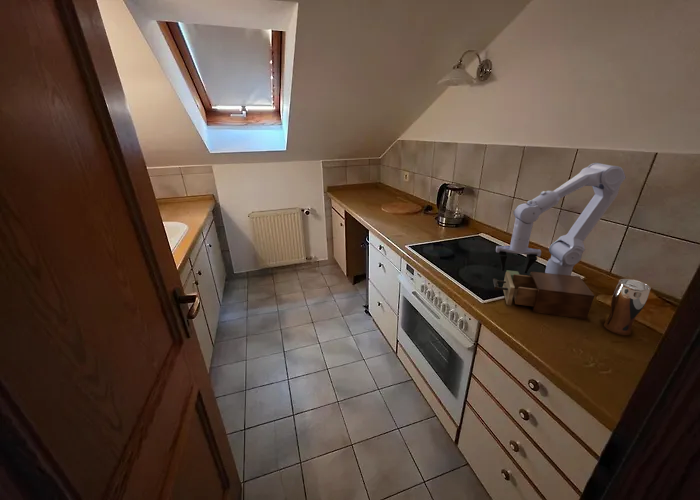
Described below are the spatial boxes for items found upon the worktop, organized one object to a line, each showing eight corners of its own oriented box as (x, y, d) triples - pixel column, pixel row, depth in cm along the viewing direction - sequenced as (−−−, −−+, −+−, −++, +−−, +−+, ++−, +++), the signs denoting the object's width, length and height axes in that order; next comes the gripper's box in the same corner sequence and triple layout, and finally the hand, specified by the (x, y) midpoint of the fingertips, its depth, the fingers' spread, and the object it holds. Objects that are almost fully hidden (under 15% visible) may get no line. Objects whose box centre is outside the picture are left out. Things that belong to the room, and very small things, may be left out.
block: (504, 279, 117) (506, 270, 115) (516, 280, 116) (518, 271, 114) (506, 284, 113) (508, 274, 112) (518, 285, 112) (520, 276, 111)
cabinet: (533, 311, 97) (539, 289, 93) (525, 292, 108) (530, 271, 104) (586, 319, 92) (594, 295, 89) (572, 298, 103) (579, 276, 100)
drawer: (493, 303, 100) (496, 285, 98) (490, 286, 110) (492, 270, 108) (553, 311, 95) (558, 293, 92) (544, 293, 105) (549, 276, 102)
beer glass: (618, 320, 91) (635, 277, 85) (639, 335, 85) (659, 290, 79) (596, 321, 91) (611, 278, 85) (615, 336, 85) (633, 291, 79)
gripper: (540, 235, 109) (532, 268, 114) (497, 232, 113) (491, 264, 118) (545, 242, 102) (537, 277, 108) (499, 238, 107) (493, 272, 112)
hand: (513, 270), depth 113 cm, fingers open, 7 cm apart
